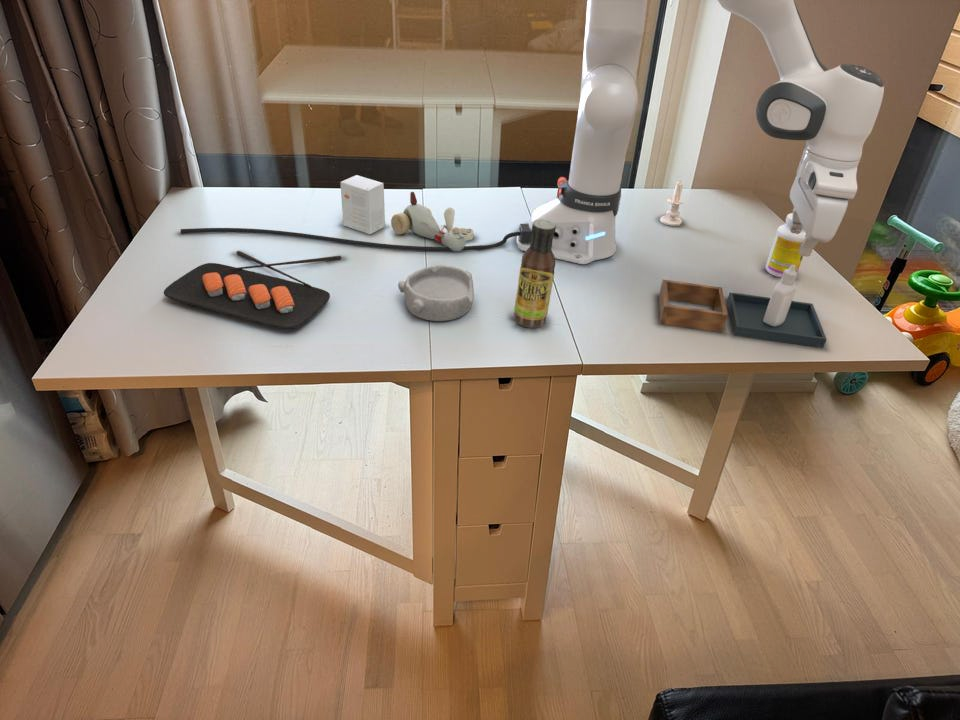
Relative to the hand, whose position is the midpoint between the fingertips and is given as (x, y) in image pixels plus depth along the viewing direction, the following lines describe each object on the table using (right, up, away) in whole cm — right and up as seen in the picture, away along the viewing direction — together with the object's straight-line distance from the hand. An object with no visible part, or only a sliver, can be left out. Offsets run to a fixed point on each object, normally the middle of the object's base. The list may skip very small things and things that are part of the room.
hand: (798, 242), depth 129 cm
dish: (-66, -11, +8) cm, 67 cm away
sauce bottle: (-48, -14, +5) cm, 50 cm away
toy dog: (-68, +6, +32) cm, 76 cm away
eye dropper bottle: (-1, -14, +10) cm, 17 cm away
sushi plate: (-98, -6, +11) cm, 99 cm away
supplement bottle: (+8, -2, +28) cm, 29 cm away
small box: (-84, +9, +34) cm, 91 cm away
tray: (-1, -14, +10) cm, 17 cm away
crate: (-17, -12, +11) cm, 23 cm away
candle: (-11, +13, +47) cm, 50 cm away
